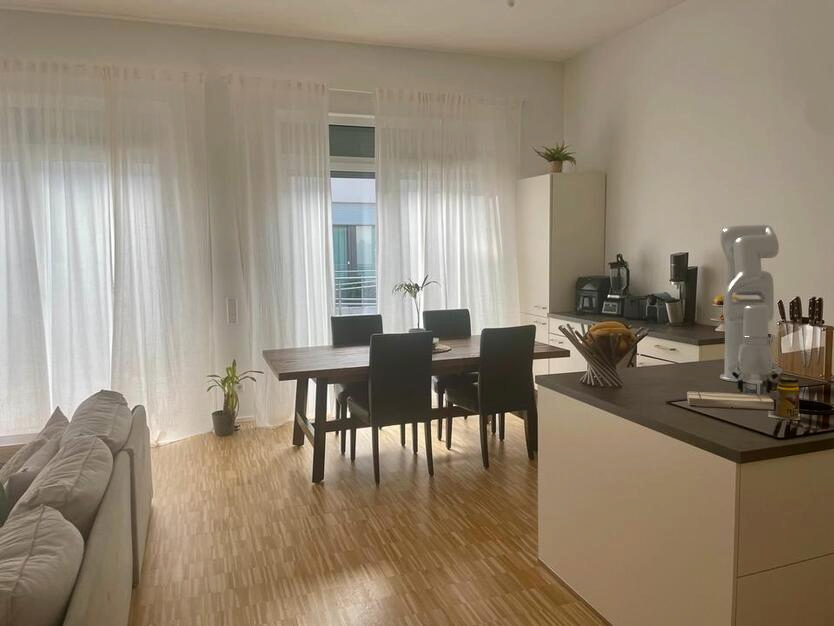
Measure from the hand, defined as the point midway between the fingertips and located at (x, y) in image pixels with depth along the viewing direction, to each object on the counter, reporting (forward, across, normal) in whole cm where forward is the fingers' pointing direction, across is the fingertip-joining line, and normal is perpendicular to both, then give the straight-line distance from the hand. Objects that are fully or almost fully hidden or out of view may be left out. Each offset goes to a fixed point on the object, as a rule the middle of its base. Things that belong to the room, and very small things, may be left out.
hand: (754, 391), depth 216 cm
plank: (+3, +9, +10) cm, 13 cm away
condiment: (+3, -5, +22) cm, 23 cm away
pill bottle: (+3, 0, 0) cm, 3 cm away
